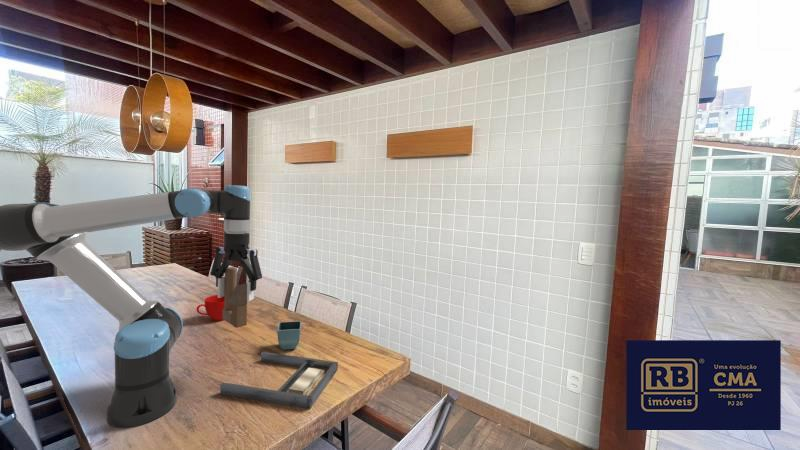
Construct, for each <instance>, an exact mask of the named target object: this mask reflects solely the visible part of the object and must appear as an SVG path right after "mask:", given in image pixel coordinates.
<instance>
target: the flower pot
mask: <svg viewBox="0 0 800 450" xmlns="http://www.w3.org/2000/svg"><path fill="white" fill-rule="evenodd" d="M301 328H302V321H301V320H295V321H280V322H278V325H277V328H276V329H277V330H276V333H277V342H278V345H279V347H280V348H281V350H282V351H283V350H285V351H286V350H294V349H297V347H298V345H299V342H300V338H301V332H302V331H301Z"/></svg>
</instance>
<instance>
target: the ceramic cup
mask: <svg viewBox="0 0 800 450" xmlns="http://www.w3.org/2000/svg"><path fill="white" fill-rule="evenodd" d="M202 307H204V308H205V313H204V312H201V311H200V308H202ZM223 309H225V296H223V297H221V298H218V294H214V295H211V296H207V297H205V298H204V304H198V305H197V307H196V312H197V313H198V314H199V315H202V316H208V317H209V318H210V319H211V320H212V321H215V322H216V321H217V322H219V321H225V320H224V319H223Z"/></svg>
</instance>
